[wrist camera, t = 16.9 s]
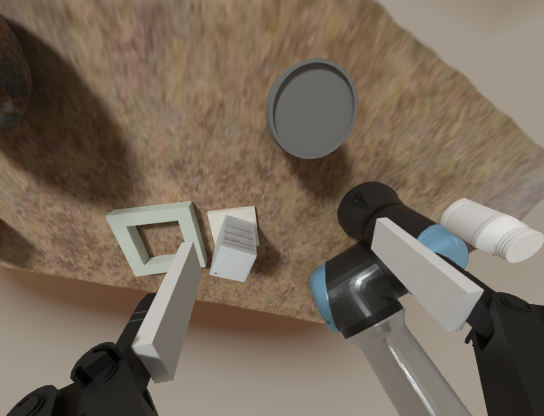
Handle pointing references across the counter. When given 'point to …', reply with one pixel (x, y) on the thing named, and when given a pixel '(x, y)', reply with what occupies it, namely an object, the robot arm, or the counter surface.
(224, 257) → the supplement box
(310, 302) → the counter surface
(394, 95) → the counter surface
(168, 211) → the holder
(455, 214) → the jar
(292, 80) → the reusable coffee cup
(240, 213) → the tile
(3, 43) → the jug
